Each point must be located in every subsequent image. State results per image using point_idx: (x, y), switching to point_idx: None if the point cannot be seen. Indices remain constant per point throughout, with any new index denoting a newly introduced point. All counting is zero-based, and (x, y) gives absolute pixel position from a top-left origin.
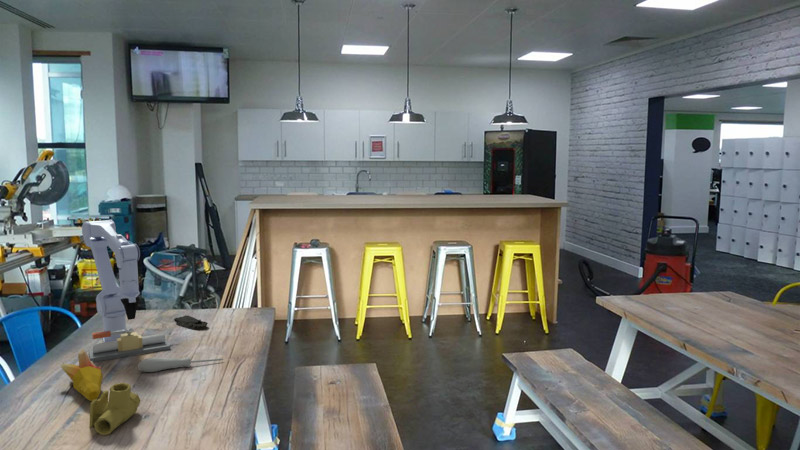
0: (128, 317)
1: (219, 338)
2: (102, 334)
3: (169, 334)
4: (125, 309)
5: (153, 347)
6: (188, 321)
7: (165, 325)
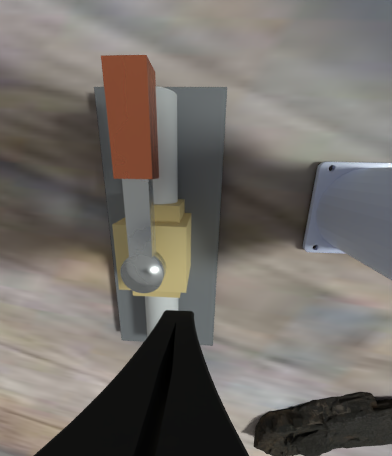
0: (159, 324)
1: None
2: (112, 128)
3: (272, 357)
4: (108, 386)
5: (127, 300)
6: (337, 428)
7: (383, 368)
